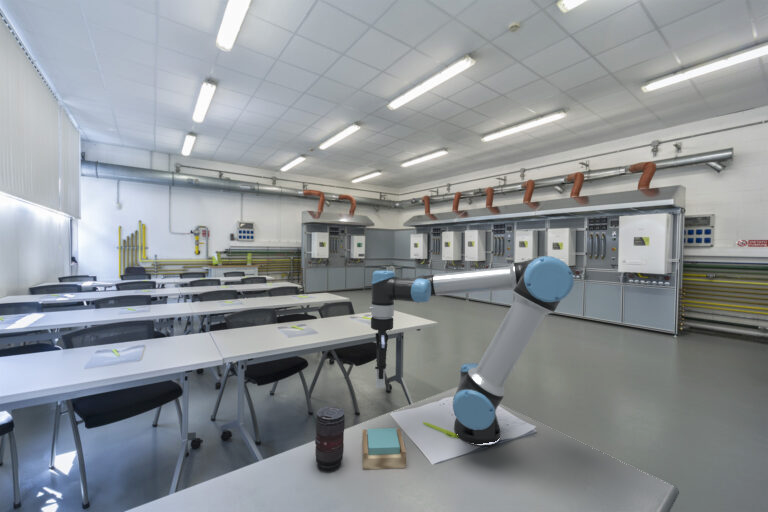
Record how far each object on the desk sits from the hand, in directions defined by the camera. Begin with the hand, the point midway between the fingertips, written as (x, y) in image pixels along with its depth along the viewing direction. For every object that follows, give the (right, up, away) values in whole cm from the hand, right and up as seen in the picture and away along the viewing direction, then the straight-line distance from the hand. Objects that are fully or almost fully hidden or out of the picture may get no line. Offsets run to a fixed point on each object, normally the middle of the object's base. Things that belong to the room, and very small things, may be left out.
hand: (380, 387), depth 105 cm
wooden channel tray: (+1, -16, -11) cm, 19 cm away
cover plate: (+1, -13, -11) cm, 17 cm away
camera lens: (-14, -16, -16) cm, 26 cm away
